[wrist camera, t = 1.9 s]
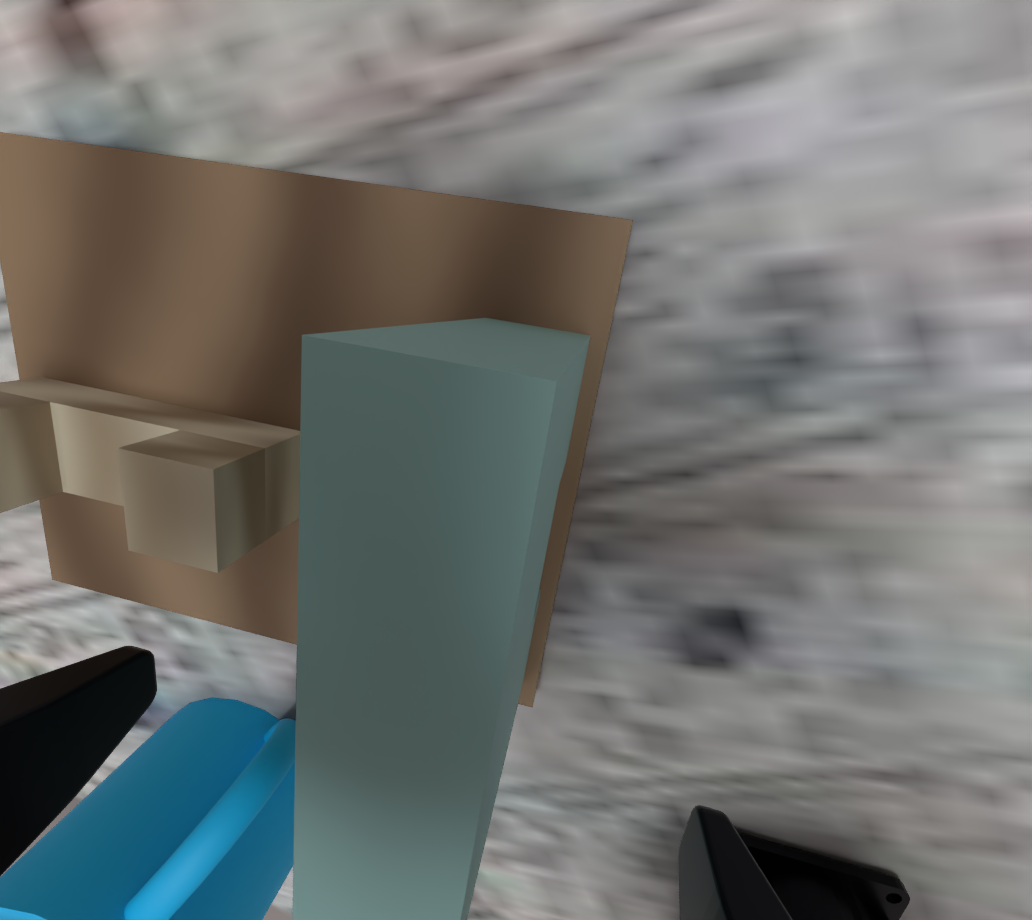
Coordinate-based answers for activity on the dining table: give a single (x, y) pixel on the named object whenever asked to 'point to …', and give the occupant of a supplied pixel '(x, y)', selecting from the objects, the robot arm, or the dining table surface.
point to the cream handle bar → (151, 468)
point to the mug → (173, 828)
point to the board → (264, 321)
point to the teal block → (417, 599)
